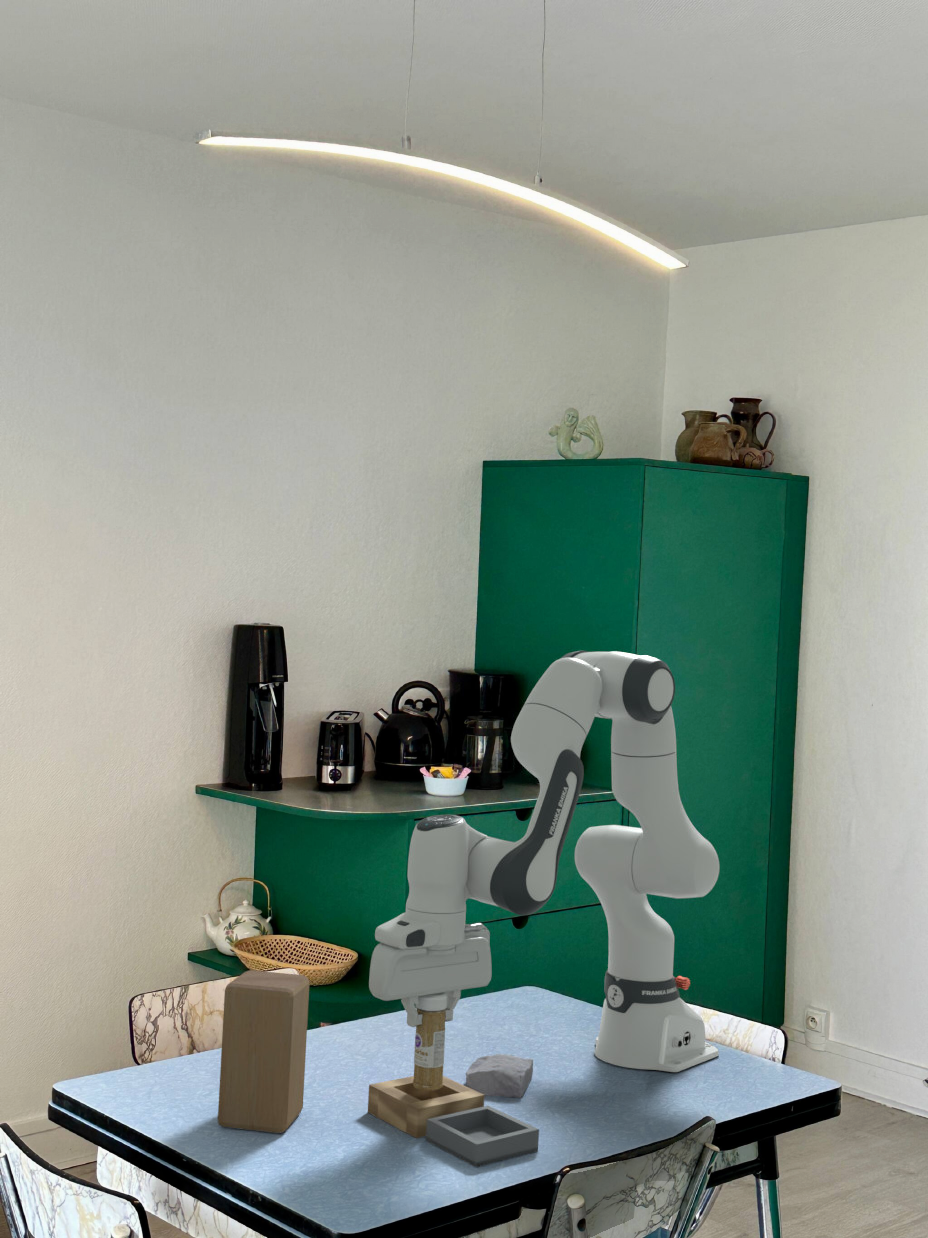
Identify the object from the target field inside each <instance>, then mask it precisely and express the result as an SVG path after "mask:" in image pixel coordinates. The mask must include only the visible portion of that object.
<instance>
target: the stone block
mask: <svg viewBox="0 0 928 1238" xmlns="http://www.w3.org/2000/svg"><path fill="white" fill-rule="evenodd" d="M533 1073H534V1059H533V1058H524V1057H521V1056H515V1055H512V1054H503V1053H502V1054H501V1053H497V1054H494V1055H485V1056H480V1057H477V1058H476V1059H475V1061H473V1062H472V1063H471V1064H470V1066H469V1068H468V1069H467V1071H466V1072H465V1079H466V1080H465V1082H466V1087H468V1088H471V1089H473V1090H475V1091H477V1092H479V1093H481V1094H484V1096H490V1097H491V1096H492V1097H503V1098H514V1097H516V1099H522V1097H523V1096H524V1094H525V1092H526V1090H527V1088H528V1086H529V1084H530V1082H531V1080H532V1078H533Z"/></svg>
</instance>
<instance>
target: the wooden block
mask: <svg viewBox="0 0 928 1238" xmlns="http://www.w3.org/2000/svg"><path fill="white" fill-rule="evenodd" d="M224 988H225V989H224V997H223V998H224V1000H223V1018H222V1036H221V1053H220V1055H221V1056H220V1068H219V1069H220V1072H219V1087H218V1088H219V1089H218V1090H219V1092H218V1105H217V1106H218V1109H217V1110H218V1111H217V1122H218V1125H219V1127H220V1126H221V1127H223V1128H228V1127H229V1129H237V1128H238V1129H239V1130H246V1129H247V1131H255V1130H256V1132H264V1131H265V1132H266V1133H276V1134H282V1133H284V1132H286V1130H287V1129H288V1128H289V1127H290V1126H291V1125H292V1123H293V1122H294V1121H295V1120H296V1118H298V1116H299V1115H300V1114H301V1112H302V1111H303V1108H304V1107H303V1106H304V1091H305V1074H306V1073H305V1071H306V1053H307V1038H308V1037H307V1034H308V1018H309V1017H308V1015H309V999H310V997H309V996H310V995H309V994H310V980H309V977H308V976H306V975H304V974H295V973H287V972H286V973H285V972H284V973H283V972H276V971H275V972H273V971H263V970H262V971H261V970H252V969H250V970H247V971H244V972H243V973H242V974H241V975H239V976H237V977H236V978H235V979H233V980H231V982H229V983H227V984H226V986H225V987H224ZM265 1132H264V1133H265Z"/></svg>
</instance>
